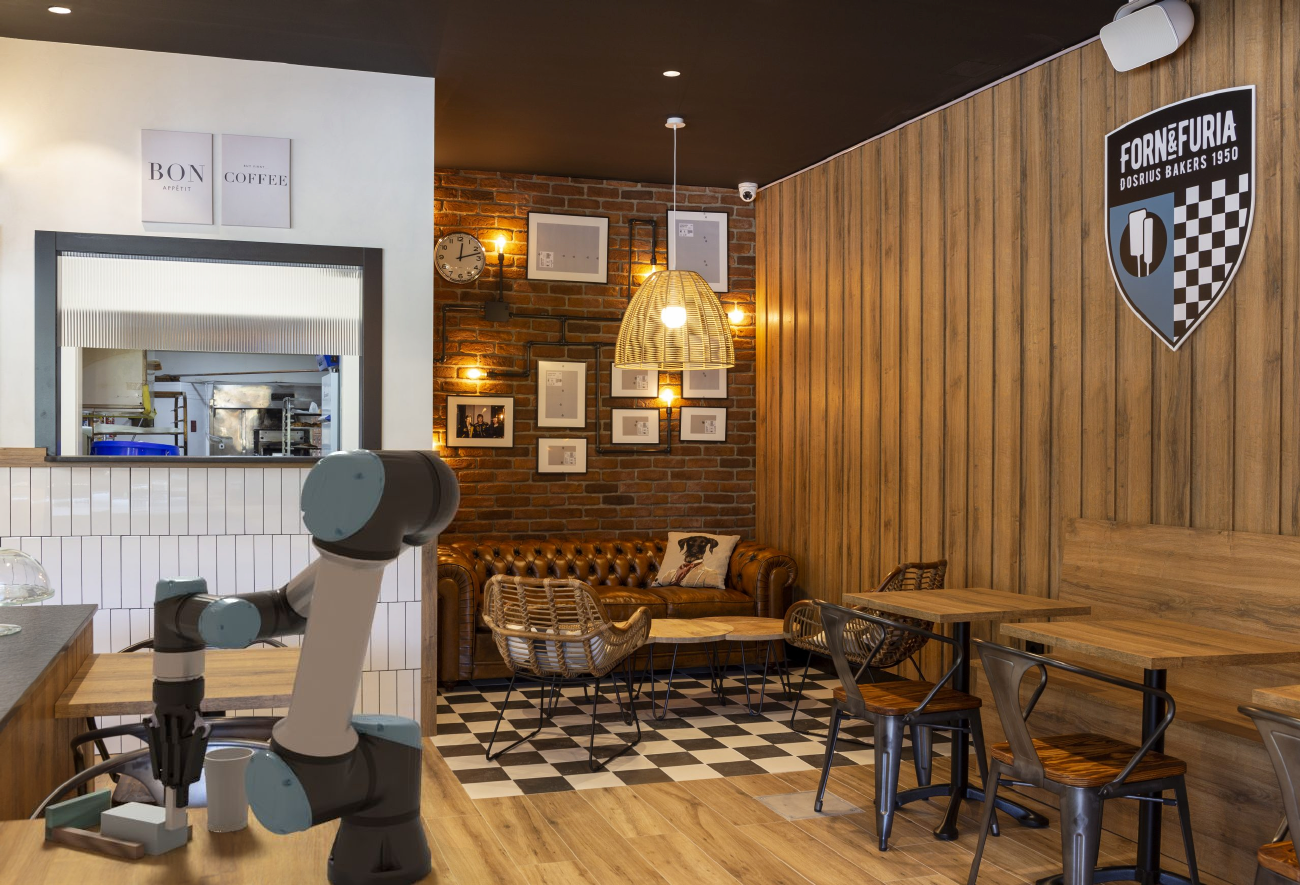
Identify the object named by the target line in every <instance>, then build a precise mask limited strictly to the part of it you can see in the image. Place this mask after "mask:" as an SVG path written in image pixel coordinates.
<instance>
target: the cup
mask: <svg viewBox="0 0 1300 885" xmlns="http://www.w3.org/2000/svg"><path fill="white" fill-rule="evenodd" d="M255 752H256V751H255V750H254V749H252V748H248V747H241V746H240V747H239V746H237V747H236V746H234V747H233V746H231V747H222V748H217V749H212V750H209V751H206V754H205V759H204V764H203V770H204V776H205V794H206V795H205V796H206V810H207V812H206V813H207V820H206V823H207V824H206V829H207V828H208V829H209V830H212V831H219V832H218V833H231V832H230V831H232V832H236V831H239V830H242V829H244V827H245V828H247V826H248V824H249V822H248V821H249V807H250V804H249V802H248V800H247V796H246V792H245V784H244V776H245V769H246V765H247V763H248V761H249V759H250V758H251V757H252V756H254V755H255V754H256V753H255ZM208 829H207V830H208ZM209 830H208V831H209ZM235 830H236V831H235ZM212 831H211V832H212ZM220 831H221V832H220Z"/></svg>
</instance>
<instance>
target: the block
mask: <svg viewBox="0 0 1300 885" xmlns="http://www.w3.org/2000/svg"><path fill="white" fill-rule="evenodd" d="M112 808H113V809H110V810H107V811H104V812H102V813H101V823H100V834H103V835H108V836H112V837H117V838H121V839H126V840H130V841H135V842H140V843H144V854H147V855H153V856H159V855H160V856H161V855H162V854H164V853H167V852H169V851H171V850H174V849H177V848H179V847H182V846H183V845H186V844H188V839H187V828H188V824H189V823H188V822H189V821H188V820H189V819H188V818H189V813H188V812H187V811H186V825H185V826H182V827H180V828H177V829H175V830H167V829H165V810H166V807H162V806H157V805H156V806H155V805H152V804H146V803H141V802H135V801H131V802H128V803H125V804H123V805H122V804H121V805H119V806H116V807H112Z"/></svg>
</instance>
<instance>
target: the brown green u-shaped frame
mask: <svg viewBox="0 0 1300 885" xmlns="http://www.w3.org/2000/svg"><path fill="white" fill-rule="evenodd" d="M113 808H114V807H112V789H109V788H103V789H100V790H96V791H93V792H91V793H87V794H84V795H80V796H78V797H75V798H72V799H68V800H64V801H62V802H58V803H56V804H52V805H49V806H46V807H45V816H44V817H45V819H44V820H45V823H44V828H45V829H44V840H48V841H52V842H57V843H61V844H64V845H65V844H66V845H70V846H74V847H79V848H82V849H86V850H92V851H96V852H101V853H105V854H108V855H109V854H110V855H114V856H117V857H121V858H126V859H131V860H135V861H137V860H138V859H142V858H144V856H145V853H144V843H140V842H135V841H130V840H126V839H121V838H117V837H112V836H108V835H103V834H101V833H98V832H95V831H89V830H85V829H88V828H91V827H93V826H97V825H99V824H101V813H102V812H104V811H107V810H110V809H113ZM193 825H194V824H192V823H191V824H190V823H188V828H187V840H189V839H192V838H193V829H194V828H193V827H194V826H193Z"/></svg>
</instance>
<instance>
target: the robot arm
mask: <svg viewBox="0 0 1300 885" xmlns="http://www.w3.org/2000/svg"><path fill="white" fill-rule="evenodd" d="M300 494H301V496H300V511H301V512H304V514H303V516H302V521H303V524H304V525H305V528H306V529H307V531H308V532H309V533H310V534H311V535H312V537H311V543H312V545H313V547H314V548H315V550H316V551H317V552H318V553H319V555H320V556H319V557H317V558H316V559H315V560H314V561H313V562H311V564H309V565H308V566H307V567H305V568H304V569H303V570H302V571H301V572H299V573H298V574H297V575H296V576H295V577H294V578H292V579H291V580H290V581H289V582H287V583H286V584H285V585H283V586H282V587H280V588H278V589H270V590H261V591H254V592H245V593H244V592H243V593H234V594H225V595H219V594H209V590H208V584H207V580H206V579H205V578H204V577H201V576H193V575H188V576H187V575H185V576H184V575H181V576H179V575H177V576H168V577H164V578H161V579H159V580H158V581H157V582H156V584H155V595H154V601H153V607H154V608H153V654H152V655H153V656H152V675H153V676H154V677H155V678H154V679H153V680H152V694H151V695H152V696H151V697H152V698H151V700H152V702H153V703H154V704H155V705H156V706H155V708H154V713H152V714H151V715H149V716H146V717H143V718H142V720H141V723H142V724H143V727H144V730H145V732H146V737H147V738H146V739H147V744H148V745H147V746H148V749H149V751H148V752H149V757H150V763H151V764H150V765H151V770H152V778H153V779H154V780H155V781H160V782H161V784H162V786H163V805H164V806H165V808H166V810H165V829H167V830H175V829H177V828H180V827H182V826H185V825H186V812H187V807H188V806H189V802H190V801H189V800H190V799H189V798H190V786H191V785H192V784H195V783H199V782H200V780H201V777H202V772H203V769H204V759H205V754H206V753H207V749H208V744H209V739H210V737H211V735H212V733H213V732H214V730H215V724H214V723H212V722H211V723H207V722H206V721H205V720H204V719H203V712H202V709H201V703H202V701H203V699H205V690H206V688H205V687H206V684H205V683H206V678H205V677H204V675H203V674H204V673H205V671H206V646H210V647H213V648H218V649H220V650H227V649H228V650H240V649H242V648H246V646H248V645H249V644H251V643H252V642H257V641H263V640H270V639H275V638H276V639H277V638H284V637H289V636H303V639H302V642H301V648H300V653H299V658H298V662H297V668H296V672H295V677H294V680H293V686H292V691H291V696H290V699H289V700H290V701H289V706H288V710H287V715H286V716H284V717H283V718H282V719H279V720H277V722H276V723H275V724H274V725H273V727H272V731H271V736H270V741H269V746H268V748H267V749H260V750H259V751H258V752H256V753H254V756H252V757H251V758H250V759H249V761H248V763H247V765H246V769H245V776H244V784H245V792H246V796H247V800H248V802H249V807H250V810H251V811H252V813H253V816H254V817H255V818H256V820H257V822H258V823H259V824H260V825H261V826H262V827H263V828H264V829H266V830H267V831H269V832H270V833H272V834H275V835H281V836H285V835H286V836H287V835H291V834H292V833H297V832H307V830H309V829H310V828H313V827H316V826H320V825H323V824H325V823H328V822H333V821H334V820H337V819H340V820H339V821H340V823H339V826H338V829H337V832H336V835H335V838H334V841H333V843H332V847H331V849H330V853H329V855H328V859H327V862H326V863H327V867H326V868H327V869H326V870H327V871H326V876H327V880H328V881H329V883H331V884H333V885H413V884H416V883H417V882H420V881H422V880H423V879H424V878H426V877H427V876H428V875H429V874H430V873H431V871H432V851H431V848H430V846H429V845H428V844H429V843H428V840H427V836H426V832H425V829H424V826H423V821H422V819H421V818H422V817H421V801H422V800H421V799H422V798H421V796H422V769H423V768H422V767H423V750H424V747H423V745H422V743H423V742H422V740H423V739H422V728H421V725H420V724H419V723H418V722H417V721H416V720H414V719H411V718H409V717H404V716H400V715H393V714H381V713H357V714H354V711H355V705H356V700H357V696H358V691H359V687H360V683H361V677H362V673H363V669H364V666H365V659H366V654H367V650H368V646H369V642H370V636H371V631H372V628H373V623H374V618H375V614H376V608H377V605H378V600H379V594H380V590H381V586H382V581H383V578H384V572H385V569H386V567H387V566H388V565H390V564H391V563H393V562H394V561H396V560H397V559H399V557H400V556H401V555H403V553H405V552H406V551H407V550H409V549H410V548H421V547H423V546H425V545H426V544H427V543H430V542H431V541H432V540H433V539H435V538H436V537H437V536H438V535H439V534H440V533H442V532H443V531H444V530H445V529H446V528H448V526H449V525H450V524H451V522H452V521H453V520H454V518H455V516H456V514H457V512H458V509H459V506H460V503H461V502H460V501H461V490H460V484H459V481H458V479H457V476H456V473H454V470H453V469H452V468H451V467H450V465H449V464H448V463H447V462H445V461H444V460H443V459H442V458H440V457H439V456H437V455H435V454H432V453H430V452H426V451H422V450H379V449H377V450H375V449H364V448H354V449H351V450H340V451H339V450H338V451H335V452H331V453H329V454H327V455H325V457H323V458H321V459H320V460H319V461H317V462H316V463H315V464H314V465H313V466H312V468H310V471H309V473H308V474H307V476H306V479H305V481H304V483H303V485H302V490H301V493H300Z"/></svg>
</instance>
